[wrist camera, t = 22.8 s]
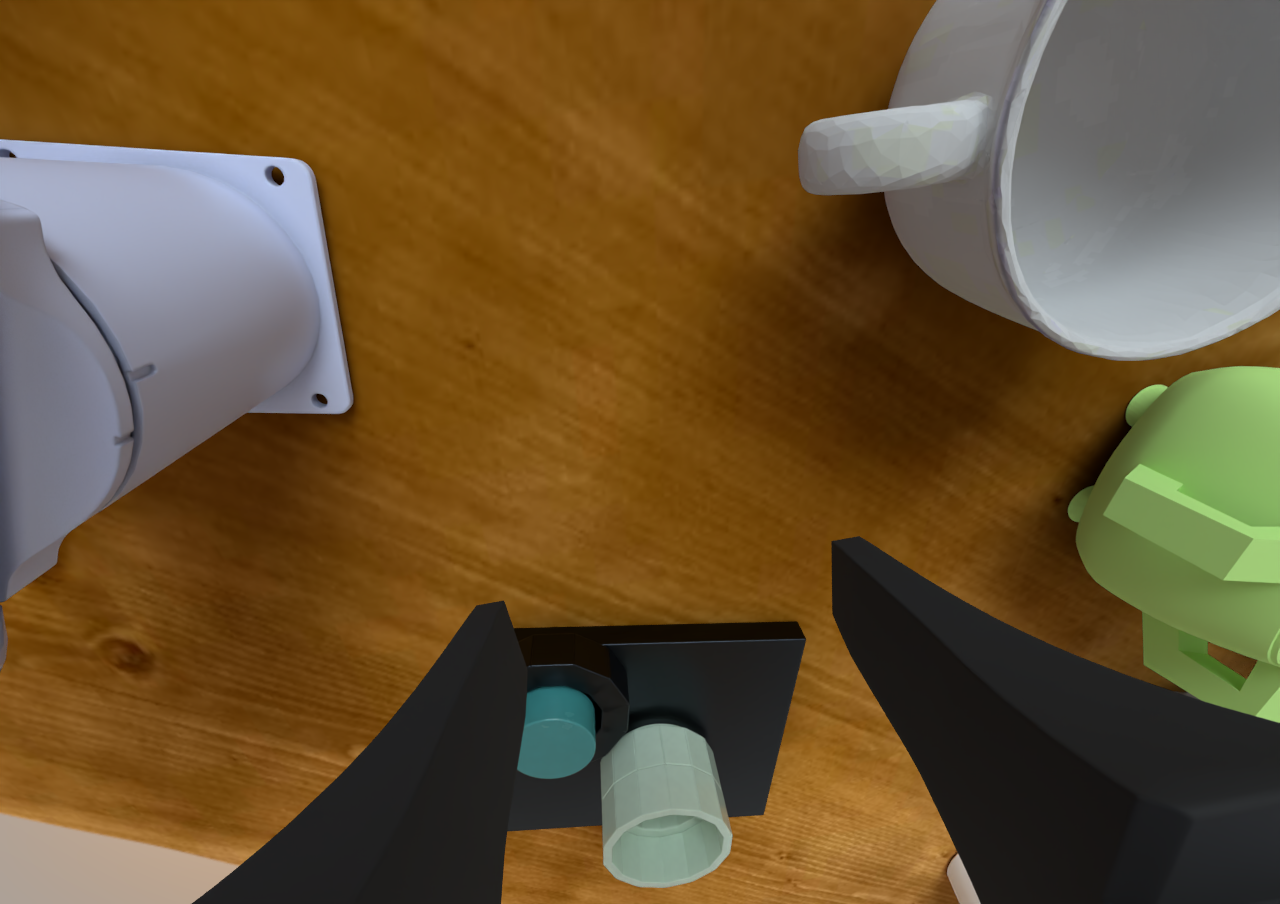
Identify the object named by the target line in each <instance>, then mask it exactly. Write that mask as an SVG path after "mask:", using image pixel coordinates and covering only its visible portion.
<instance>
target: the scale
mask: <svg viewBox="0 0 1280 904" xmlns="http://www.w3.org/2000/svg"><path fill="white" fill-rule="evenodd" d="M514 631H515V634H516V637H517V640H518V643H519V646H520V649H521V652H522V655H523V657H524V660H525V663H526V666H527V692H528V691H530V690H533V689H535V688H538V687H545V686H568V687H571V688H573V689H576V690H579V691H581V692H583V693H584V694H585V695H586V696H587V697H588V698H589V699H590V700H591V702H592V703H593V706H594V709H595V728H596V751H595V754H594V756H593V758H592V760H591V761H590V763H589V764H588V765H587V766H586V767H584V768H583V769H582V770H580V771H578V772H576V773H574V774H572V775H569V776H566V777H562V778H556V779H541V778H535V777H531V776H528V775H526V774H524V773H522V772H520V771H518V770H517V773H516V779H515V785H514V791H513V797H512V803H511V809H510V815H509V821H508V828H507V831H520V830H536V829H551V828H567V827H582V826H598V825H602V811H601V781H600V762H601V759H602V758H603V757H604V756H606V754H608V753H609V752H610V751H611V749H612V748H613V747H614V746H615V745H616V744H617V743H618V741H619V740H620V739H621V738H622V737H623V736H624V735H625V734H627V733H628V732H630V731H632V730H634V729H636V728H639V727H642V726H646V725H651V724H672V725H677V726H680V727H684V728H687V729H689V730H691V731H693V732H695V733H697V734H699V735H700V736H702V737H703V738H705V740H706V742H707V743H708V745H709V746H710V748H711V750H712V751H713V754H714V759H715V763H716V767H717V771H718V776H719V780H720V784H721V789H722V792H723V797H724V801H725V805H726V810H727V814H728V817H739V816H754V815H763V814H764V811H765V806H766V802H767V798H768V794H769V790H770V786H771V782H772V778H773V773H774V769H775V765H776V761H777V757H778V753H779V749H780V745H781V740H782V736H783V732H784V728H785V724H786V720H787V716H788V712H789V707H790V703H791V699H792V695H793V691H794V687H795V683H796V679H797V674H798V670H799V666H800V662H801V658H802V654H803V650H804V646H805V641H806V638H805V636H804V634H803V632H802V630H801V628H800V626H799V624H798V622H756V623H715V624H674V625H633V626H592V627H550V628H514Z"/></svg>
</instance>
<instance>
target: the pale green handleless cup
mask: <svg viewBox="0 0 1280 904" xmlns="http://www.w3.org/2000/svg"><path fill="white" fill-rule="evenodd" d="M600 781H601V811H602V842H603V864H604V866H605V867H606V868H607V869H608V870H609V871H610V873H611V874H612V875H613V876H614V877H615V878H616V879H618V880H621V881H623V882H626V883H629V884H632V885H634V886H637V887H655V888H667V887H671V886H676V885H680V884H685V883H689V882H692V881H695V880H697V879H699V878H700V877H702V876H704V875H706V874H708V873H710V872H712V871H714V870H715V869H716V868H717V867H718V866H719V865H720V864H721V863H722V862H723V860H724V859H725V858H726V857H727V856H728V855H729V853H730V849H731V843H732V837H733V835H732V831H731V827H730V822H729V818H728V814H727V810H726V805H725V801H724V797H723V792H722V789H721V784H720V780H719V776H718V771H717V767H716V763H715V759H714V754H713V751H712V750H711V748H710V746H709V745H708V743H707V742H706V740H705V738H703V737H702V736H700V735H699V734H697V733H695V732H693V731H691V730H689V729H687V728H684V727H680V726H677V725H672V724H651V725H646V726H642V727H639V728H636V729H634V730H632V731H630V732H628V733H627V734H625V735H624V736H623V737H622V738H621V739H620V740H619V741H618V743H617V744H616V745H615V746H614V747H613V748H612V749H611V751H610V752H609V753H608V754H606V756H604V757H603V758H602V759H601V762H600Z"/></svg>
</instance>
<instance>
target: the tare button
mask: <svg viewBox="0 0 1280 904" xmlns="http://www.w3.org/2000/svg"><path fill="white" fill-rule="evenodd" d="M595 751H596V728H595V709H594V706H593V703H592V702H591V700H590V699H589V698H588V697H587V696H586V695H585V694H584V693H583V692H581V691H579V690H576V689H573V688H571V687H568V686H545V687H538V688H535V689H533V690H530V691H528V692H527V699H526V716H525V723H524V730H523V736H522V742H521V749H520V755H519V761H518V767H517V770H518V771H520V772H522V773H524V774H526V775H528V776H531V777H535V778H541V779H556V778H562V777H566V776H569V775H572V774H574V773H576V772H578V771H580V770H582V769H583V768H584V767H586V766H587V765H588V764H589V763H590V761H591V760H592V758H593V756H594V754H595Z"/></svg>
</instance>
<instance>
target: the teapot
mask: <svg viewBox="0 0 1280 904" xmlns="http://www.w3.org/2000/svg"><path fill="white" fill-rule="evenodd" d="M1126 421H1127V423H1128V424H1129V425H1130V426H1132V428H1131V430H1130V431H1129V432H1128V434H1127V435H1126V436H1125V437H1124V439H1123V440H1122V441H1121V443H1120V444H1119V445H1118V447H1117V448H1116V450H1115V451H1114V453H1113V454H1112V456H1111V457H1110V459H1109V460H1108V462H1107V463H1106V465H1105V467H1104V468H1103V470H1102V472H1101V474H1100V475H1099V477H1098V479H1097V481H1096V483H1095V485H1094V486H1090V487H1087V488H1085V489H1083V490H1082V491H1080V492H1079V493H1078V494H1076V495H1075V497H1074V498H1073V499H1072V500H1071V502H1070V504H1069V507H1068V515H1069V517H1070V519H1071V520H1073V521H1075V522H1079V525H1078V528H1077V532H1076V545H1077V549H1078V552H1079V555H1080V557H1081V559H1082V562H1083V564H1084V566H1085V568H1086V570H1087V571H1088V573H1089V574H1090V575H1091V577H1092V578H1093V579H1094V580H1095V581H1096V582H1097V583H1098V584H1100V585H1101V586H1102V587H1104V588H1105V589H1106V590H1108V591H1109V592H1111V593H1112V594H1114V595H1116V596H1117V597H1119V598H1120V599H1122V600H1124V601H1125V602H1127V603H1129V604H1130V605H1132V606H1134V607H1135V608H1137V609H1139V610H1141V611H1142V622H1143V660H1144V665H1145V666H1147V667H1148V668H1150V669H1151V670H1153V671H1155V672H1156V673H1158V674H1159V675H1161V676H1163V677H1164V678H1166V679H1167V680H1169V681H1171V682H1172V683H1174V684H1176V685H1177V686H1179V687H1180V688H1182V689H1184V690H1185V691H1187V692H1188V693H1190V694H1192V695H1193V696H1195V697H1196V698H1198V699H1200V700H1201V701H1204V702H1208V703H1211V704H1214V705H1217V706H1221V707H1224V708H1228V709H1232V710H1235V711H1239V712H1242V713H1246V714H1250V715H1253V716H1257V717H1260V718H1264V719H1267V720H1271V721H1275V722H1278V723H1280V368H1271V367H1253V366H1236V367H1225V368H1217V369H1211V370H1205V371H1199V372H1193V373H1191V374H1188V375H1186V376H1184V377H1182V378H1180V379H1179V380H1177V381H1176V382H1174V383H1173V384H1172V385H1171V386H1170V387H1166V386H1164V385H1152V386H1149V387H1147V388H1145V389H1143V390H1142V391H1140V392H1139V393H1138V394H1137V395H1136V396H1135V397H1134V398H1133V399H1132V400H1131V402H1130V403H1129V405H1128V407H1127V410H1126ZM1208 642H1210V643H1213V644H1215V645H1218V646H1220V647H1223V648H1226V649H1228V650H1231V651H1234V652H1236V653H1239V654H1242V655H1244V656H1247V657H1250V658H1253V659H1256V660H1258V661H1257V663H1256V665H1255V666H1254V668H1253V670H1252V671H1251V673H1250V675H1249V676H1248V678H1247V679H1245V678H1243V677H1242V676H1240V675H1239V674H1237V673H1236V672H1234V671H1233V670H1231V669H1230V668H1228V667H1227V666H1225V665H1223V664H1222V663H1220V662H1219V661H1217V660H1216V659H1214V658H1213V657H1211V656H1210V655H1208V654H1207V651H1208Z"/></svg>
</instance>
